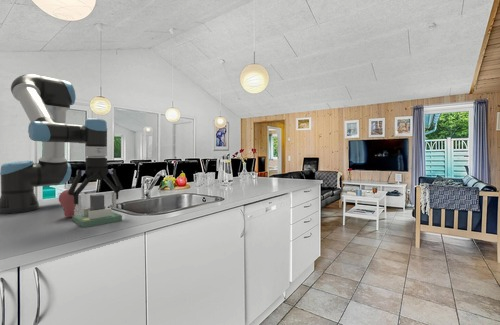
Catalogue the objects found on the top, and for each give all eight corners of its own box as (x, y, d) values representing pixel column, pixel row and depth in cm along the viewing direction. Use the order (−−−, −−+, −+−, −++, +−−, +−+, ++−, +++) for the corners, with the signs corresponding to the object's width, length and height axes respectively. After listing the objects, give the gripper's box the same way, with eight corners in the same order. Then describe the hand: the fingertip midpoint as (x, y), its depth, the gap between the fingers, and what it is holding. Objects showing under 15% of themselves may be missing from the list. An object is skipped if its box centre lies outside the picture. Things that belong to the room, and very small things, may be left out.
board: (72, 220, 105) (72, 208, 105) (109, 214, 115) (109, 203, 115) (82, 227, 95) (82, 214, 95) (121, 220, 106) (121, 208, 105)
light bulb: (69, 220, 106) (68, 191, 105) (54, 219, 107) (54, 190, 107) (83, 216, 112) (83, 188, 112) (69, 215, 114) (69, 188, 113)
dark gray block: (90, 215, 105) (89, 194, 105) (100, 213, 108) (100, 193, 108) (93, 217, 102) (93, 196, 102) (104, 215, 105) (104, 195, 105)
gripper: (62, 157, 93) (63, 216, 94) (131, 157, 111) (131, 206, 111) (57, 157, 98) (58, 213, 99) (124, 157, 116) (124, 204, 117)
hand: (97, 209), depth 105 cm, fingers open, 12 cm apart
